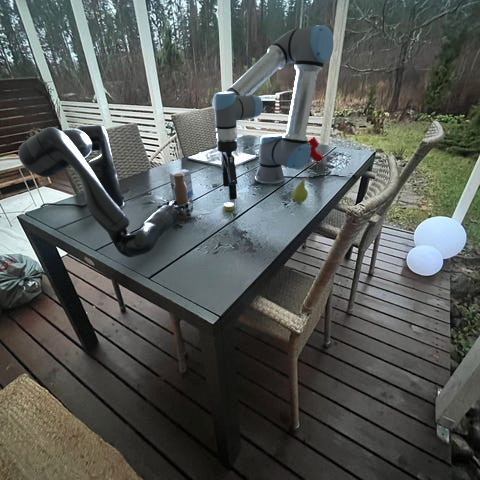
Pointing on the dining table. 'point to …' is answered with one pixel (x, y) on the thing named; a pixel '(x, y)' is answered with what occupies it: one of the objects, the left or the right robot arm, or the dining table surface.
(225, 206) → the cap
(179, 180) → the bottle
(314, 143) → the toy gun
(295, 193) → the fruit
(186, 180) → the ink box
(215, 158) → the relief map
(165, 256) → the dining table surface
